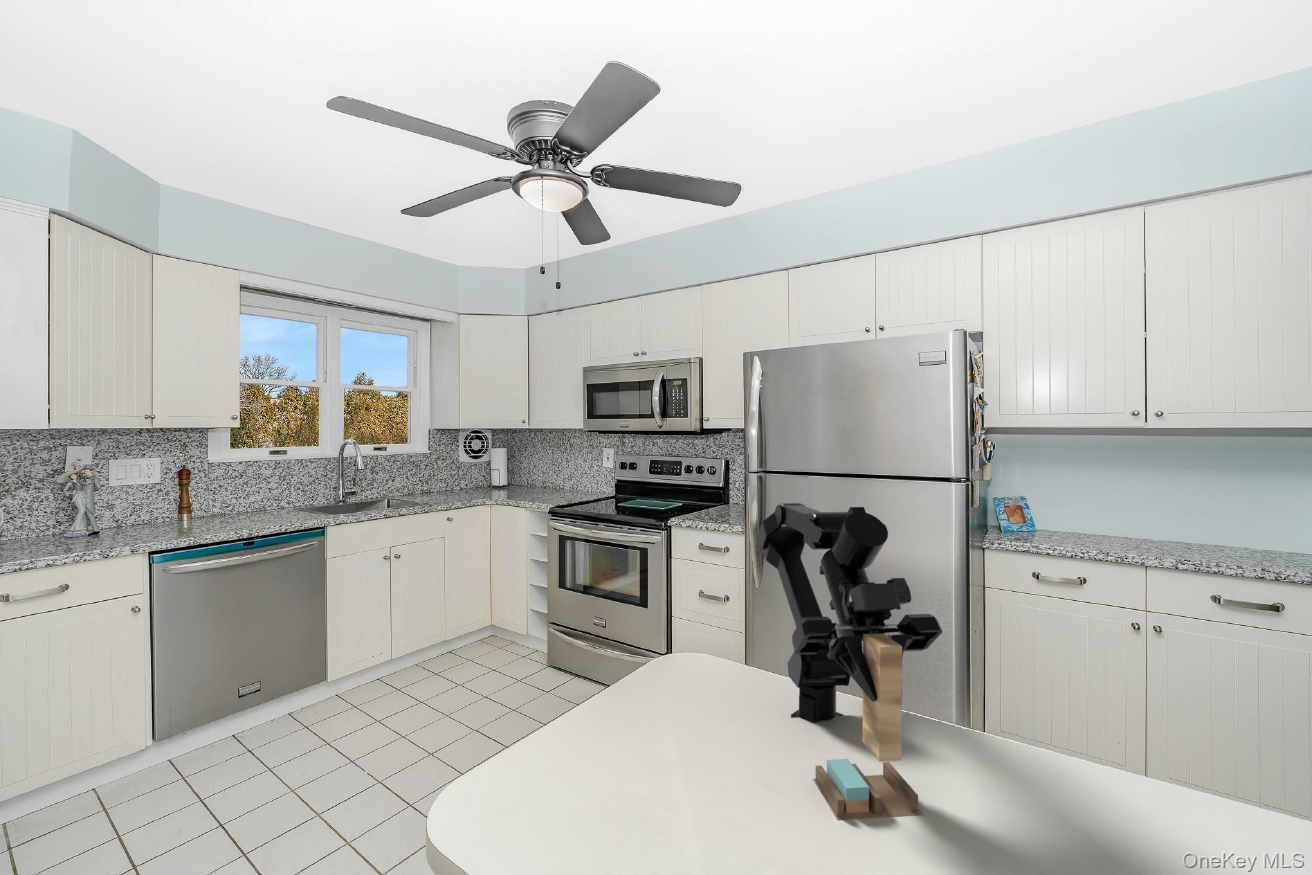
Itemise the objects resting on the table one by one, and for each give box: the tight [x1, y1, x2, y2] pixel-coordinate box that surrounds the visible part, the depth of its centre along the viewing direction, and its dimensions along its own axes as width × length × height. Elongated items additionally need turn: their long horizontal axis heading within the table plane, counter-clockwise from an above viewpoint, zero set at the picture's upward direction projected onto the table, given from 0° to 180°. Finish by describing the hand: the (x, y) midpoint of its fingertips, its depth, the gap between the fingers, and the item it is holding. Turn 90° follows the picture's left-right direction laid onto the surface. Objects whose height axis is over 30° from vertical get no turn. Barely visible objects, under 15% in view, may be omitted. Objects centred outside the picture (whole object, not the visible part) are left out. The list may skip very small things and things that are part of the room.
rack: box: [812, 761, 924, 821], centre depth 71 cm, size 8×11×3 cm
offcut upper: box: [826, 758, 869, 801], centre depth 71 cm, size 6×3×2 cm, turn 5°
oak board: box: [862, 634, 903, 762], centre depth 72 cm, size 4×3×14 cm, turn 5°
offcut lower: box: [826, 771, 869, 813], centre depth 71 cm, size 6×3×2 cm, turn 5°
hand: (887, 699), depth 71 cm, fingers closed on oak board, 3 cm apart
